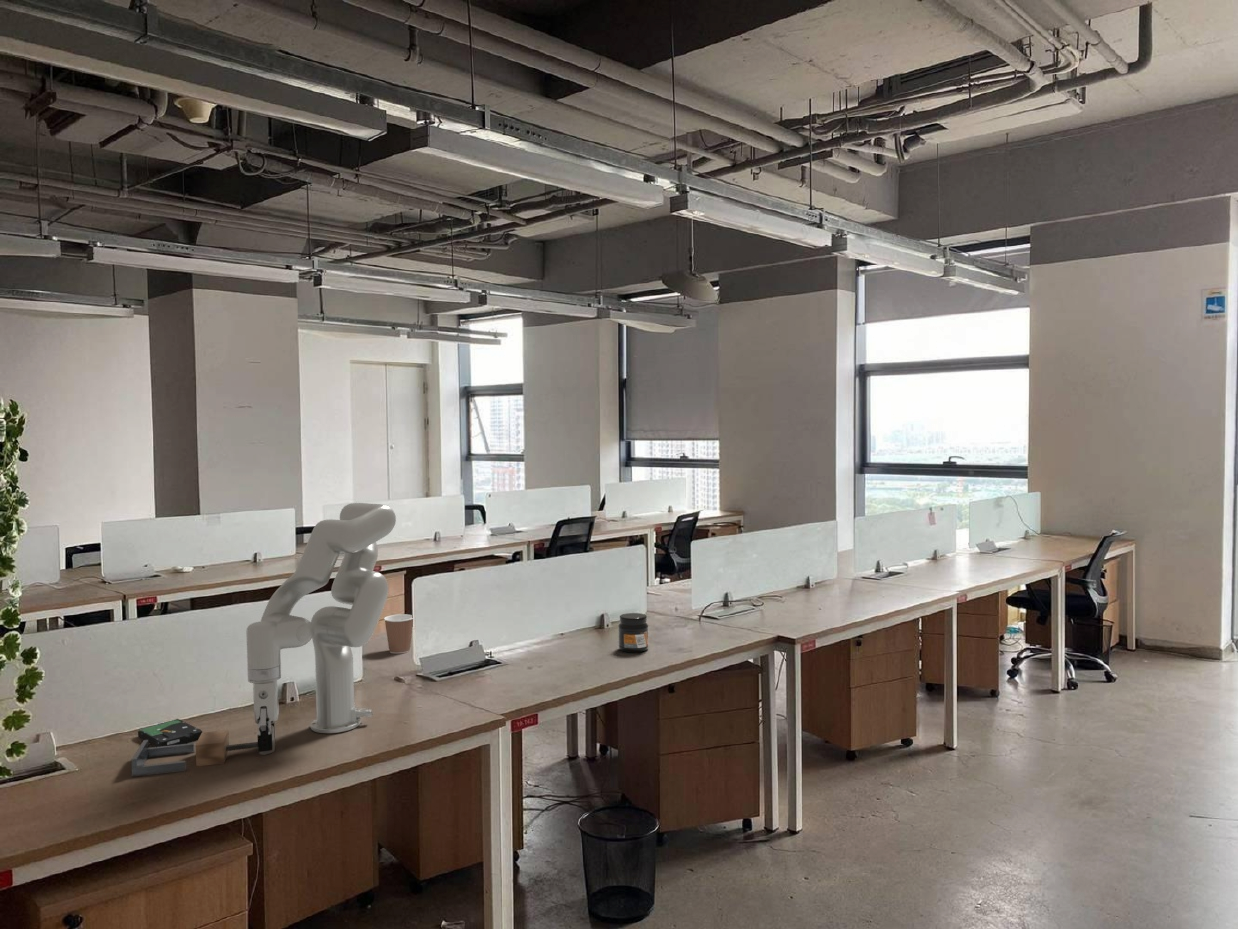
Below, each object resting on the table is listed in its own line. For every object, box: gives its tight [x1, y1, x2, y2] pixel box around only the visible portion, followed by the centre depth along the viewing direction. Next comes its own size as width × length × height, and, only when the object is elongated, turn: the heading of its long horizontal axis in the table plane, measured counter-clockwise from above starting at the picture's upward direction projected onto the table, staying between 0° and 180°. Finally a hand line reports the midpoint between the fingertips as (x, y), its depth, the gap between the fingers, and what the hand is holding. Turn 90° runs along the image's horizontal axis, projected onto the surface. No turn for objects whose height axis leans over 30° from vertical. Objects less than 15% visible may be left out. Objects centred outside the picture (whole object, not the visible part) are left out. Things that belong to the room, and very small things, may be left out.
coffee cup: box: [383, 613, 414, 655], centre depth 309 cm, size 10×10×12 cm
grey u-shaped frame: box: [131, 740, 195, 778], centre depth 208 cm, size 11×13×4 cm
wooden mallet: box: [195, 725, 276, 767], centre depth 212 cm, size 17×9×6 cm, turn 107°
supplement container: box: [617, 612, 649, 654], centre depth 308 cm, size 10×10×12 cm
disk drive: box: [137, 718, 203, 747], centre depth 225 cm, size 10×3×15 cm
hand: (266, 744), depth 214 cm, fingers open, 7 cm apart
